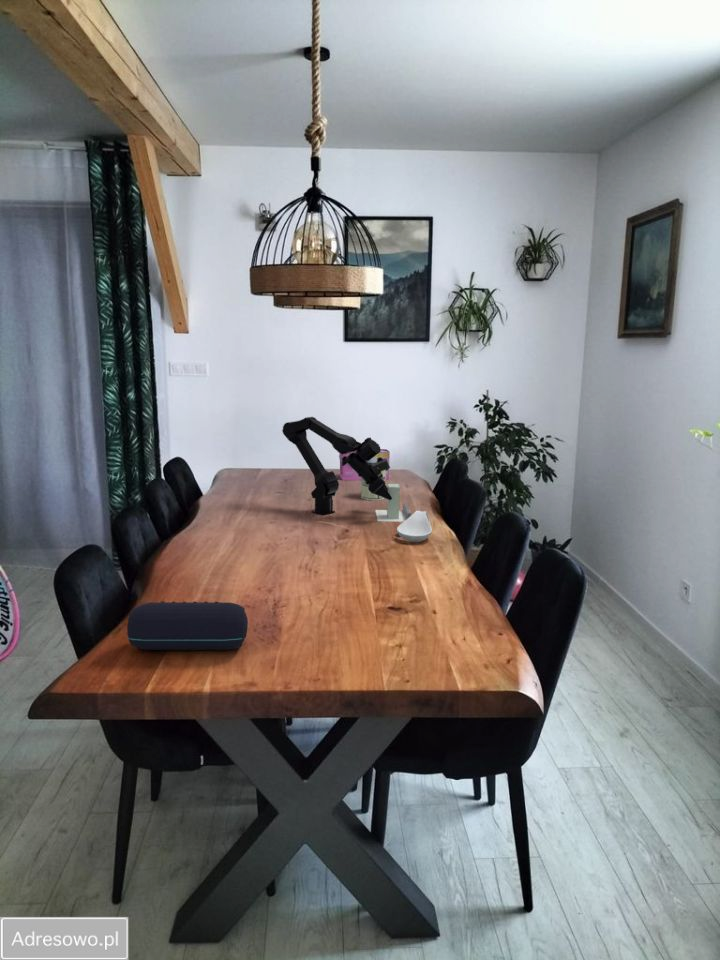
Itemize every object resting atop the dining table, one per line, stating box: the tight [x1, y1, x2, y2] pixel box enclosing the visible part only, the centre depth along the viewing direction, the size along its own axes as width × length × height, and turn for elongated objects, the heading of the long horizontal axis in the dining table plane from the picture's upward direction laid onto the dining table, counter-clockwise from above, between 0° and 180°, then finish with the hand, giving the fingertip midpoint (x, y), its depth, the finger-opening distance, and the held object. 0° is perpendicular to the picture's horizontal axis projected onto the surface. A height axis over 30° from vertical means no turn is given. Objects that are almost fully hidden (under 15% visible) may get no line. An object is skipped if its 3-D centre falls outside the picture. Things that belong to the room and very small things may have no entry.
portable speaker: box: [126, 601, 249, 651], centre depth 143 cm, size 25×10×10 cm, turn 93°
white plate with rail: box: [375, 502, 412, 523], centre depth 250 cm, size 16×12×4 cm
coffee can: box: [360, 463, 386, 501], centre depth 279 cm, size 10×10×14 cm
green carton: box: [386, 483, 401, 519], centre depth 247 cm, size 6×4×12 cm
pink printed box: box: [338, 448, 390, 481], centre depth 317 cm, size 24×8×14 cm, turn 100°
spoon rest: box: [396, 510, 433, 543], centre depth 229 cm, size 24×12×7 cm, turn 166°
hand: (390, 496), depth 247 cm, fingers open, 9 cm apart
